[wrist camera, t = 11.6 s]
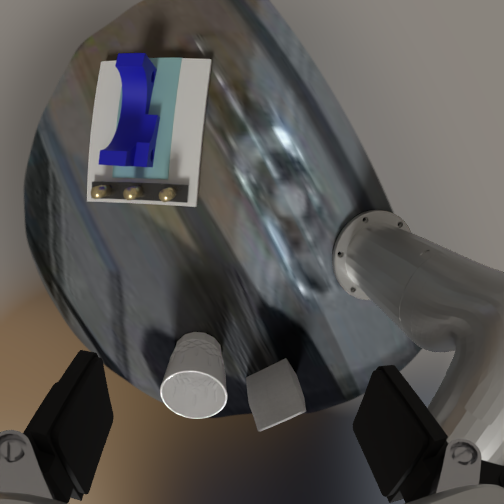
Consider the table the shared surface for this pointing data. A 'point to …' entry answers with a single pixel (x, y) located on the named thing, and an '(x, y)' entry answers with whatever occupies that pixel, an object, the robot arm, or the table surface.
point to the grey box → (275, 395)
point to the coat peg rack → (140, 191)
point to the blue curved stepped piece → (134, 115)
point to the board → (169, 131)
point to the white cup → (195, 377)
